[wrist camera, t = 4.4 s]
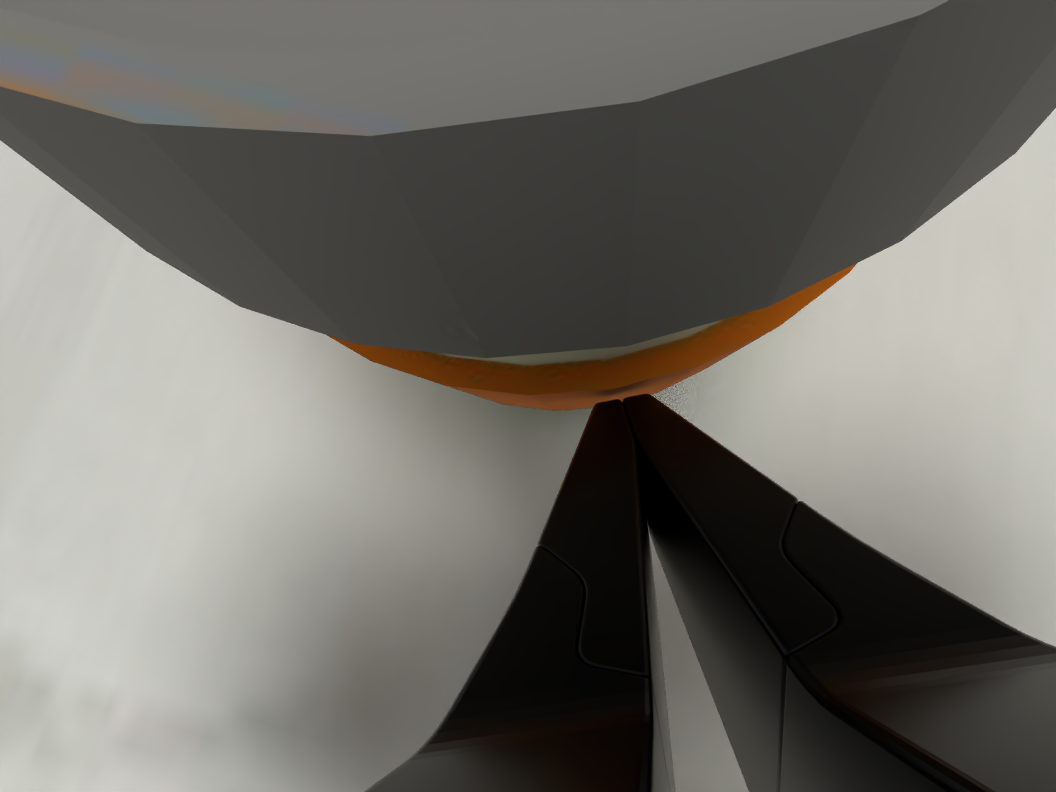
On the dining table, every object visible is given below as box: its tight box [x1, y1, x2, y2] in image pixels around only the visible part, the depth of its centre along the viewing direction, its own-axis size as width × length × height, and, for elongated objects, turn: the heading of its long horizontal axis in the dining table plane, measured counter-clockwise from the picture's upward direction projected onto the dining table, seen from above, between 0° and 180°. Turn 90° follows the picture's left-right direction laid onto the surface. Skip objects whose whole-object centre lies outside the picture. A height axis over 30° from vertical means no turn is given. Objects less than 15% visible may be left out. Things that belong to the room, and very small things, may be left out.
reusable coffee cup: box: [0, 0, 1056, 410], centre depth 11 cm, size 12×12×15 cm
